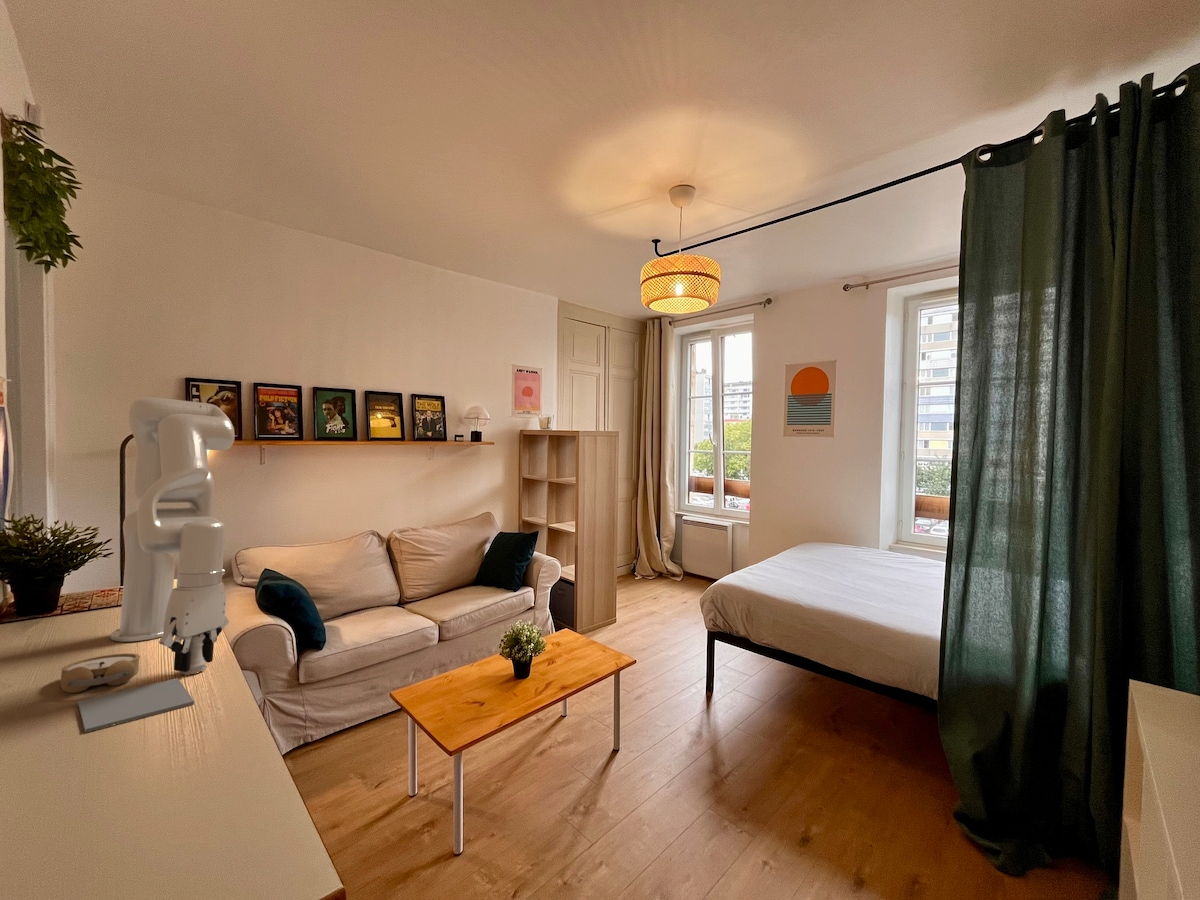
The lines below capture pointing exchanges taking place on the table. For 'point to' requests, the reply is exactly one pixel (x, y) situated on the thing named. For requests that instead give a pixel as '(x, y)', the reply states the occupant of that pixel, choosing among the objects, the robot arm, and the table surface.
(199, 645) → the rook chess piece
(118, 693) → the mat
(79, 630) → the table surface
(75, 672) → the alarm clock
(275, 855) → the table surface
